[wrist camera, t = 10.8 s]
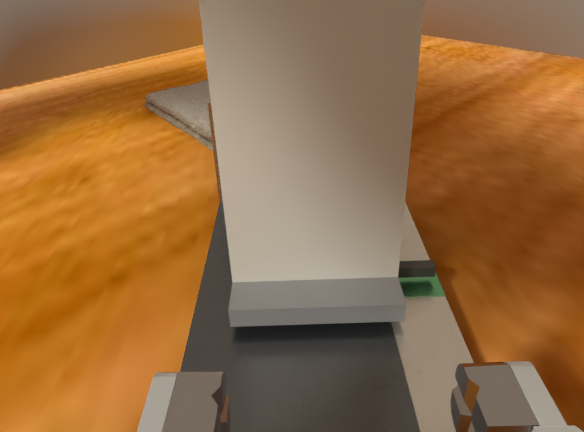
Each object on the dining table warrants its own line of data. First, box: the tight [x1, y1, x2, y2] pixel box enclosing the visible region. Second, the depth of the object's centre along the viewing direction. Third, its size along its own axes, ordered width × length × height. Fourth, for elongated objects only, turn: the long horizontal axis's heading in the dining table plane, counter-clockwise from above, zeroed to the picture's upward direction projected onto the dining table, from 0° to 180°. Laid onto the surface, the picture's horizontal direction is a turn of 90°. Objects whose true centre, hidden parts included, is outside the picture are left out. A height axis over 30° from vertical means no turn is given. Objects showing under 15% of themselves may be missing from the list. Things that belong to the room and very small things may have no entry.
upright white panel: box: [199, 0, 436, 327], centre depth 22 cm, size 8×10×17 cm
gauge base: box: [180, 99, 474, 432], centre depth 26 cm, size 30×12×8 cm, turn 1°
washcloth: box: [145, 79, 213, 151], centre depth 53 cm, size 12×18×3 cm, turn 37°
